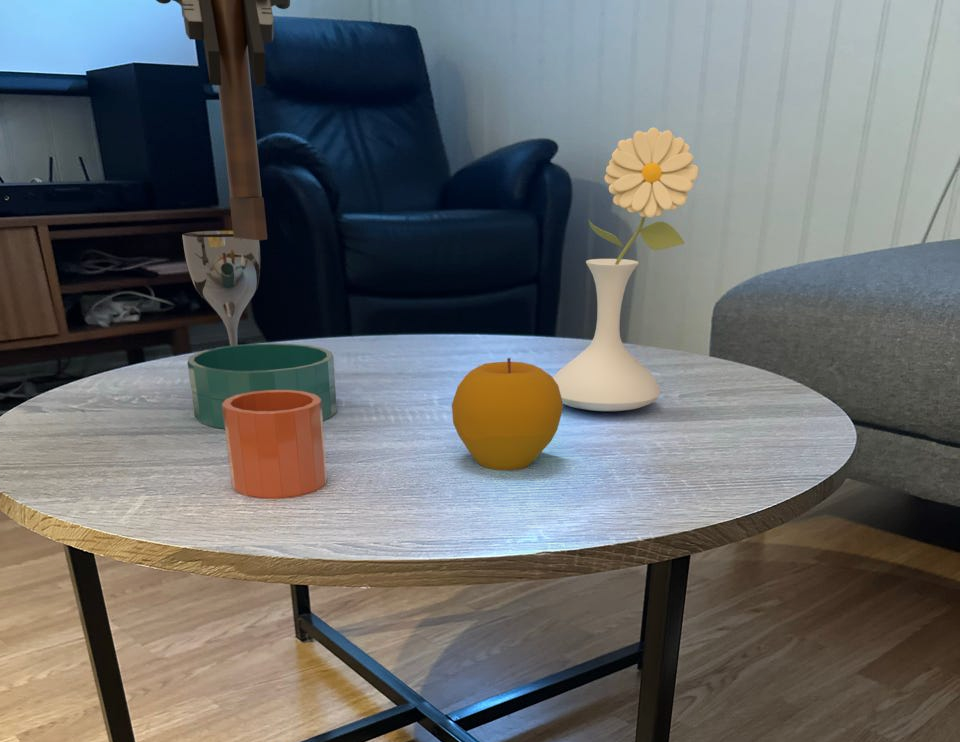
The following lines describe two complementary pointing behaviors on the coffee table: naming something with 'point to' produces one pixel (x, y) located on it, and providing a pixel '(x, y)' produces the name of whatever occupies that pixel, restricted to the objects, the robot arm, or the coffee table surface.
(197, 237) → the wine glass
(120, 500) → the coffee table surface
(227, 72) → the stick
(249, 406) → the crock
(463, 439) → the apple
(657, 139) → the flower in vase
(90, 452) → the coffee table surface
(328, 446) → the coffee table surface
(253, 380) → the bowl
